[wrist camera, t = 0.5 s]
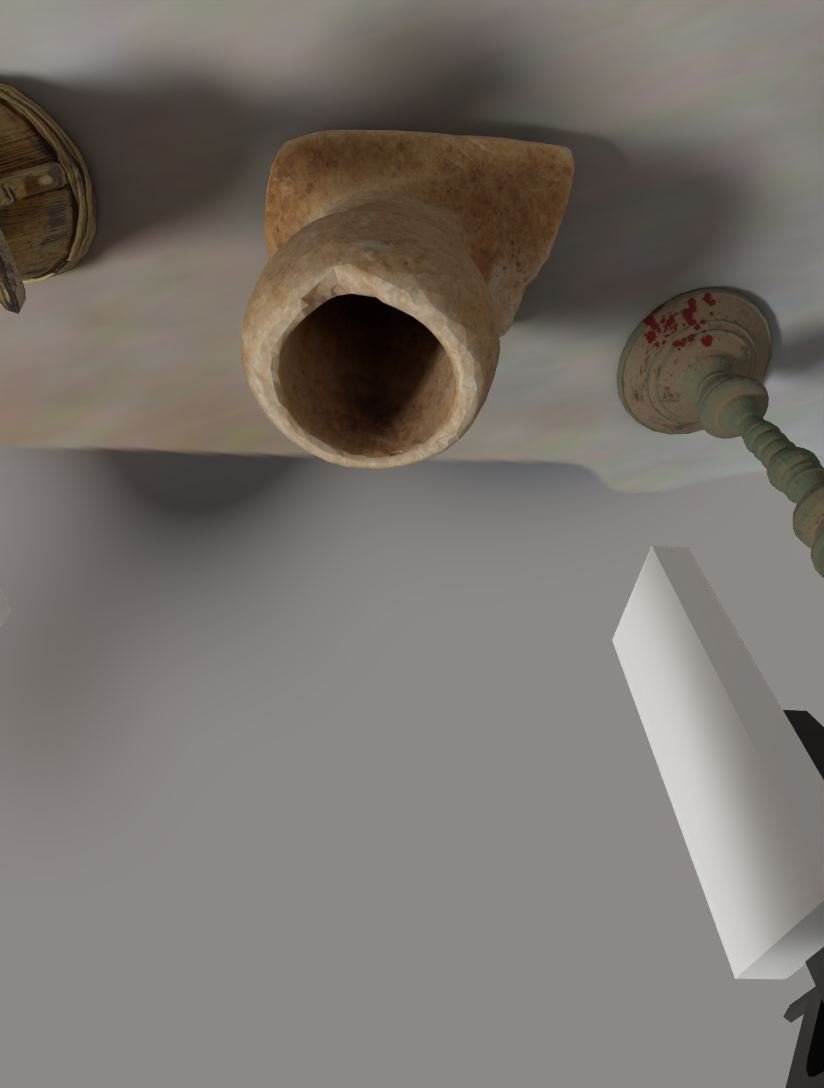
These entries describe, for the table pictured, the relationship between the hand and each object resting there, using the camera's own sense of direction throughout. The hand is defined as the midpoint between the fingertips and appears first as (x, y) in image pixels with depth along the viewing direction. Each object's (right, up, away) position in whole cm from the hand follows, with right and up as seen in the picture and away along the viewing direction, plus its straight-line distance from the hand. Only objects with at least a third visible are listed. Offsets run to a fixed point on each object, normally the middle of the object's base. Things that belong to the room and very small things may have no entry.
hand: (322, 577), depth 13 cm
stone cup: (+2, +17, +22) cm, 28 cm away
